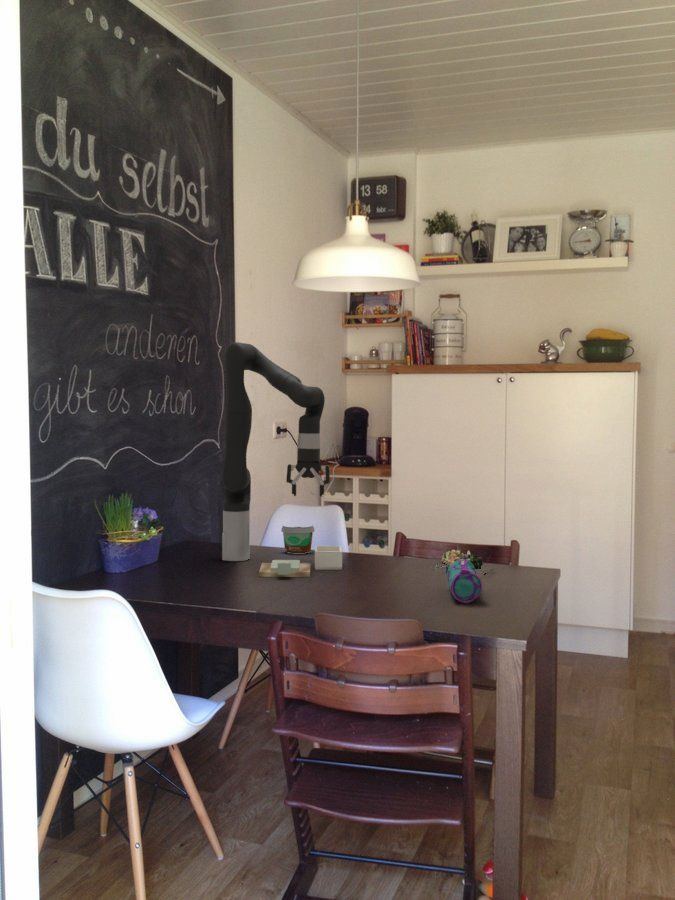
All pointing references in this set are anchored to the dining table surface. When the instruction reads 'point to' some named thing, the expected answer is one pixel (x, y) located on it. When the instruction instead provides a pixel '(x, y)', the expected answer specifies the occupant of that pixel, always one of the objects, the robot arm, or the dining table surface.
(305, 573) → the board
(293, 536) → the food container
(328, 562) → the tub
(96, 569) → the dining table surface
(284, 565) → the pale grey block
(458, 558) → the floral arrangement
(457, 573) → the pencil case
